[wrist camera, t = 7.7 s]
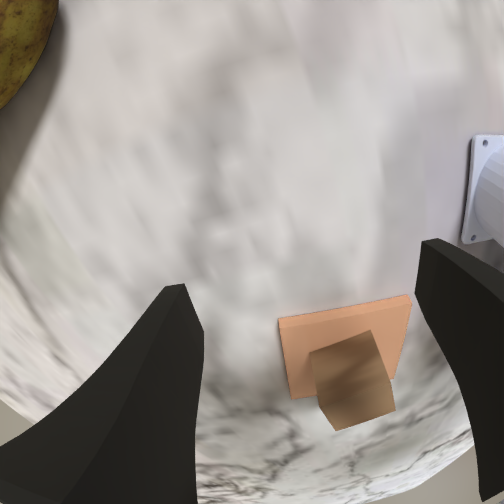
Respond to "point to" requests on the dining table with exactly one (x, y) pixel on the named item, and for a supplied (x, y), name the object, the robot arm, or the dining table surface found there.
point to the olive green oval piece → (22, 40)
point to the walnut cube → (352, 381)
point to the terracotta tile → (342, 336)
